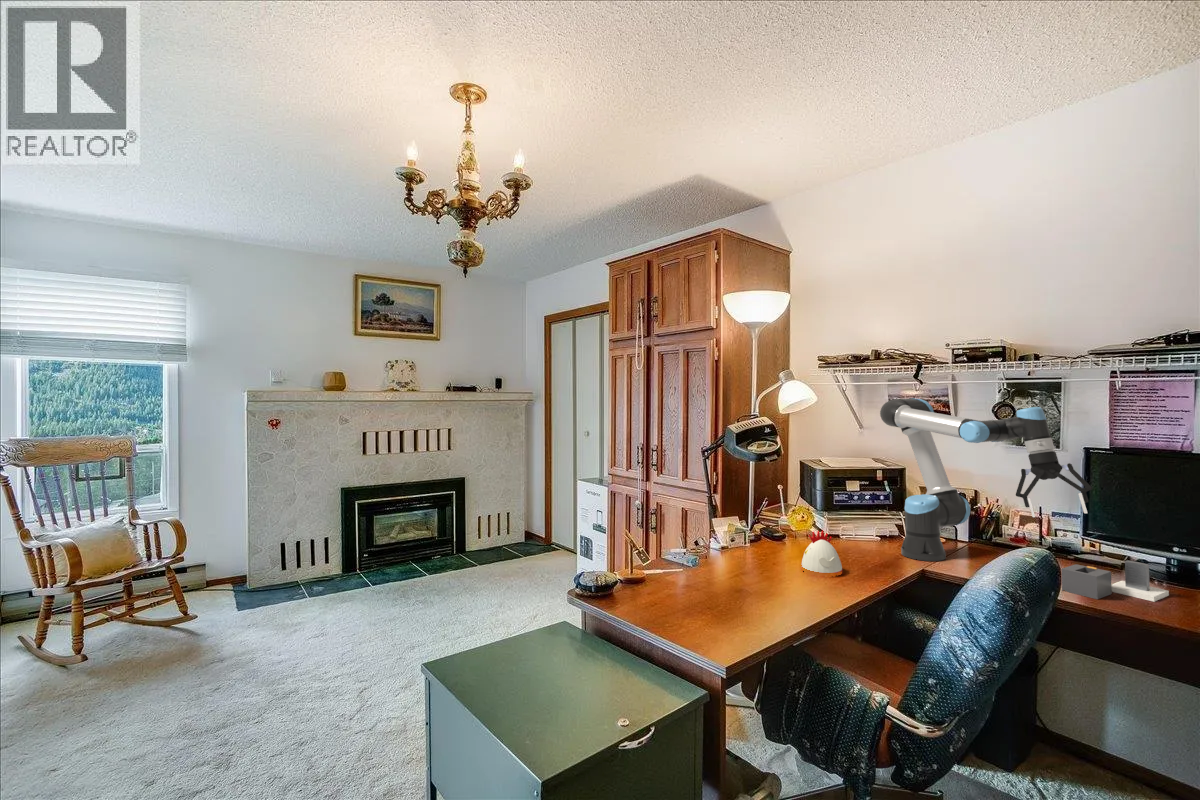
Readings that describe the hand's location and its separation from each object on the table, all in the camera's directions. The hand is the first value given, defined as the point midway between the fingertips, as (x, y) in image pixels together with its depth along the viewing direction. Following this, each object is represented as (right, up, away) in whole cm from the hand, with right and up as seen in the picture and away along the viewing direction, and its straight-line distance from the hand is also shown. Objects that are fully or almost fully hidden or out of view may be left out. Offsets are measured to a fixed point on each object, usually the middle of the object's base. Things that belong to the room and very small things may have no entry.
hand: (1059, 515), depth 182 cm
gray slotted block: (+1, -22, -9) cm, 24 cm away
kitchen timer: (-72, -25, +19) cm, 78 cm away
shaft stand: (+15, -22, -11) cm, 29 cm away
